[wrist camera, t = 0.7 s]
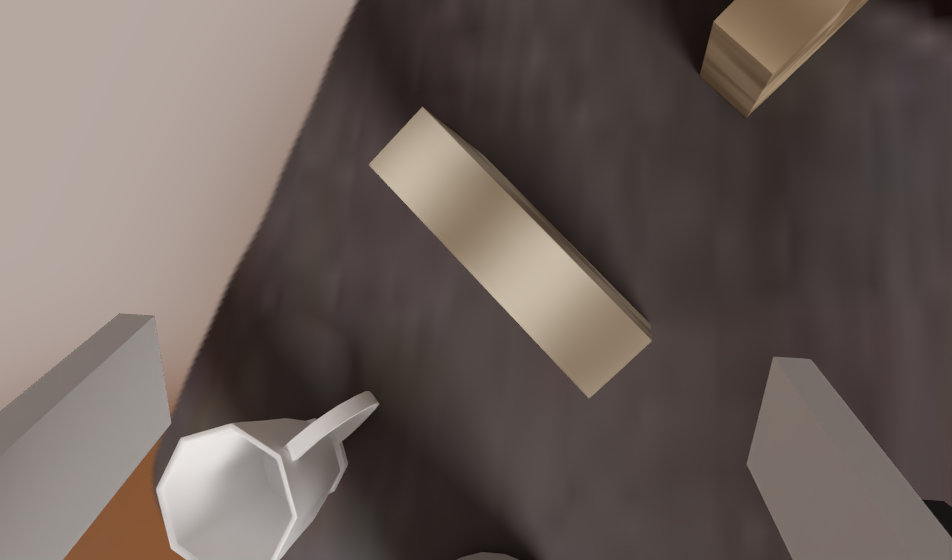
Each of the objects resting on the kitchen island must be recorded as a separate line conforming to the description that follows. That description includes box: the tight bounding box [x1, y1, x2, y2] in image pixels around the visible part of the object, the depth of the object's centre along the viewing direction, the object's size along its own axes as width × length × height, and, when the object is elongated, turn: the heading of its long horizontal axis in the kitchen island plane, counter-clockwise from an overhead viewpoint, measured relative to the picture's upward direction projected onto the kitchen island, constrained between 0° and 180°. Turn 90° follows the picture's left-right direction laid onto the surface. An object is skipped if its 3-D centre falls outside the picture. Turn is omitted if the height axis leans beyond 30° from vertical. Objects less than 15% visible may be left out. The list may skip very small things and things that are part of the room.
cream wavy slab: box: [369, 107, 652, 398], centre depth 30 cm, size 12×3×10 cm, turn 46°
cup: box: [156, 391, 379, 560], centre depth 33 cm, size 7×10×8 cm
